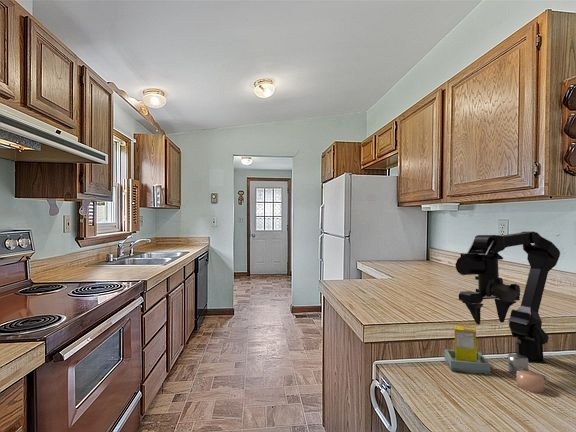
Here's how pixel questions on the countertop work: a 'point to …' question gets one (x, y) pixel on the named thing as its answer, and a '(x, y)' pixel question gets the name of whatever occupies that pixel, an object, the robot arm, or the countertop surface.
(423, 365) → the countertop surface
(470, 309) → the robot arm
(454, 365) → the tray
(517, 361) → the tin
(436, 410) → the countertop surface
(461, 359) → the supplement box
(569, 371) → the countertop surface
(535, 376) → the peach egg-shaped pebble
